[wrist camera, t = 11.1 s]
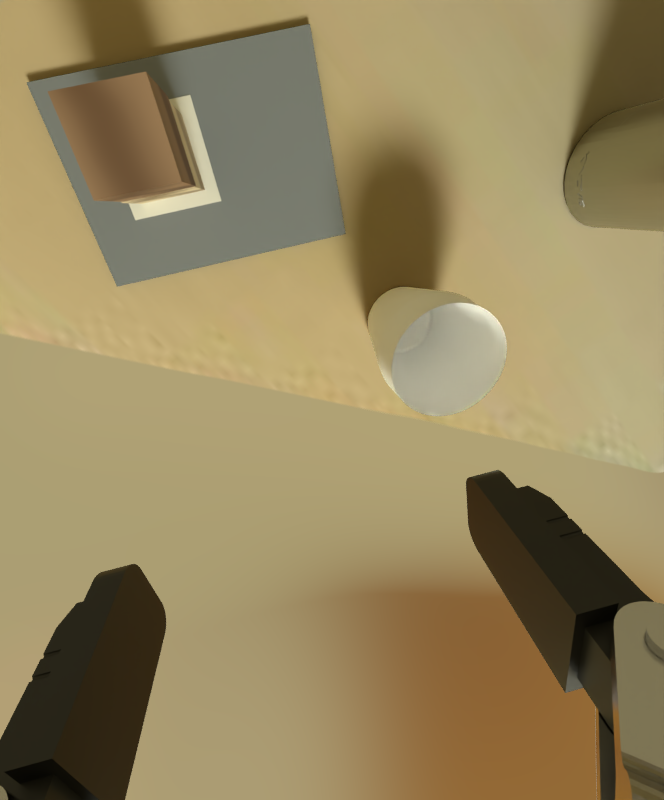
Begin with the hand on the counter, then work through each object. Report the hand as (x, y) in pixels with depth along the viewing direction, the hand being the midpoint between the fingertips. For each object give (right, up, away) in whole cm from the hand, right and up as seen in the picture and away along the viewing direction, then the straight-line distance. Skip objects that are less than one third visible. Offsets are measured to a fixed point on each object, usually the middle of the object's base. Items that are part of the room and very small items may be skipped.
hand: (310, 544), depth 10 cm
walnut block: (-12, +20, +16) cm, 28 cm away
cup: (+7, +11, +30) cm, 33 cm away
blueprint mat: (-9, +22, +22) cm, 32 cm away
